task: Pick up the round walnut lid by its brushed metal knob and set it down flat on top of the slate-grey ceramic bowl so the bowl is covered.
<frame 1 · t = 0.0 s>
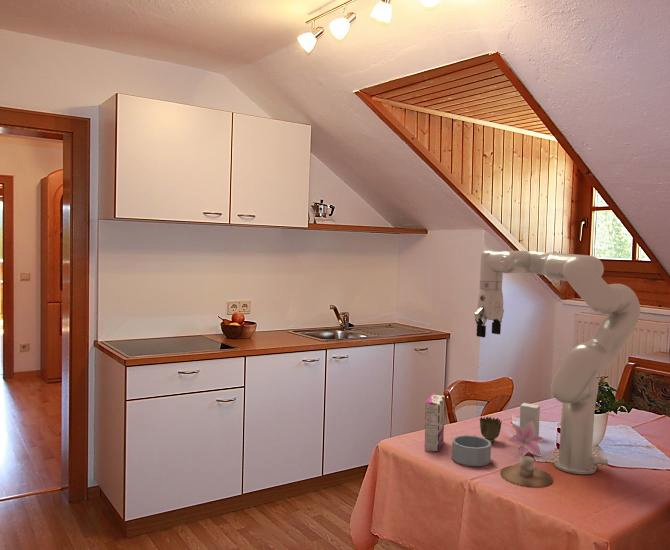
hand: (488, 335, 216), 37 cm above the table, tool pointing down, fingers open, 9 cm apart
bowl: (470, 459, 200), on the table
lily: (525, 453, 207), on the table
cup: (489, 442, 217), on the table
skincare box: (528, 438, 223), on the table
candy bar box: (433, 446, 212), on the table
lid: (526, 478, 187), on the table
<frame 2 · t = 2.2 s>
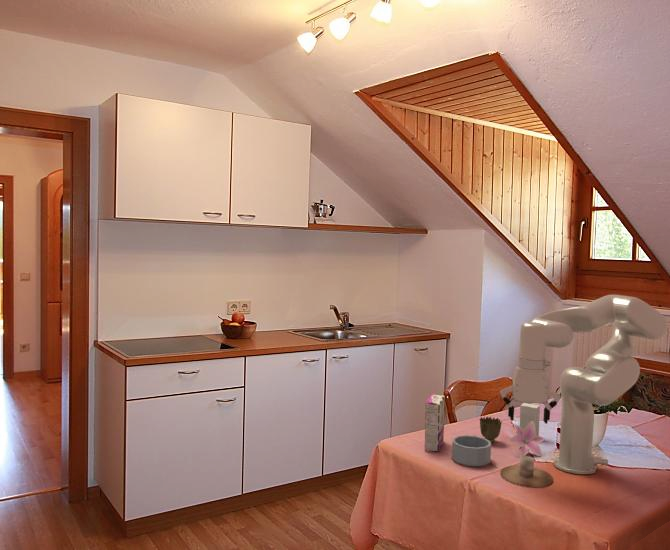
hand: (528, 420, 186), 17 cm above the table, tool pointing down, fingers open, 9 cm apart
nothing on the table moved.
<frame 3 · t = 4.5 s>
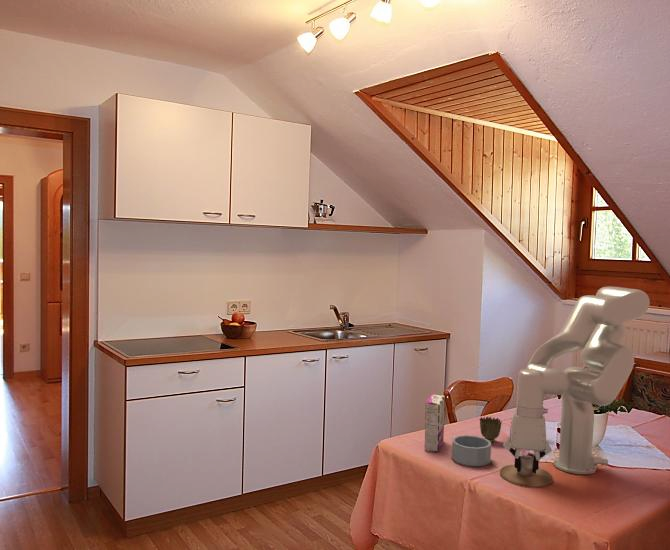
hand: (526, 470, 187), 2 cm above the table, tool pointing down, fingers closed on lid, 4 cm apart
lid: (525, 477, 187), on the table, touching gripper
everything else where it was.
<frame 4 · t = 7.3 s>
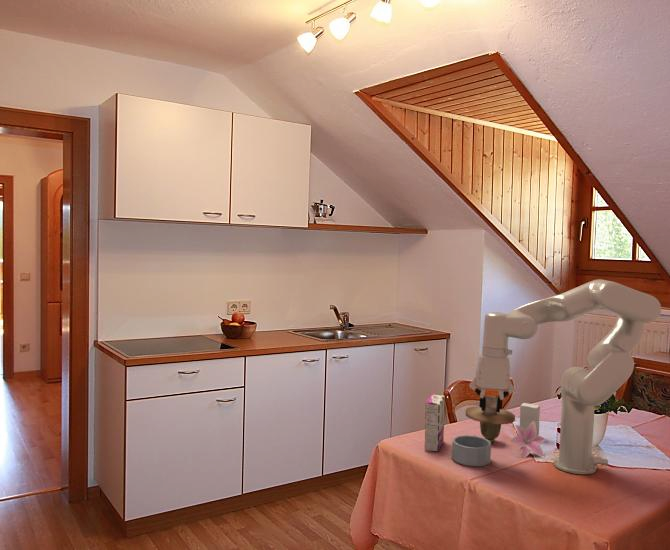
hand: (490, 410, 194), 18 cm above the table, tool pointing down, fingers closed on lid, 4 cm apart
lid: (489, 416, 194), point 16 cm above the table, touching gripper
everything else where it was.
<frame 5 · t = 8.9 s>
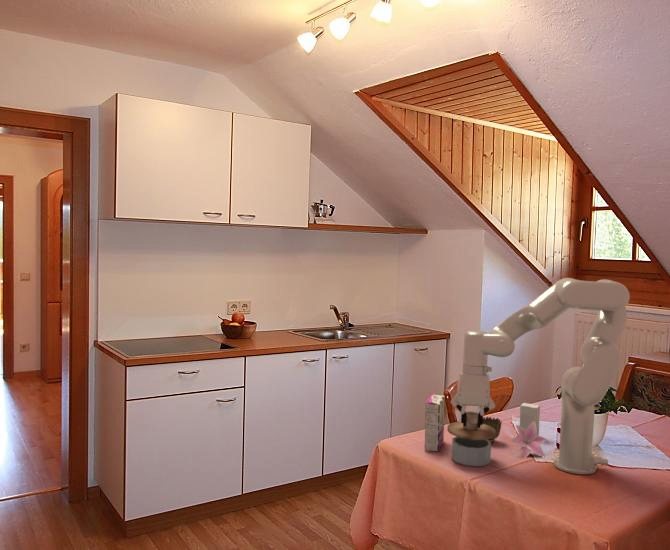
hand: (471, 425, 199), 11 cm above the table, tool pointing down, fingers closed on lid, 4 cm apart
lid: (471, 431, 199), point 9 cm above the table, touching gripper
everything else where it was.
when the fingers open (9 cm above the table, at t = 10.1 s): lid stays where it is, resting on bowl.
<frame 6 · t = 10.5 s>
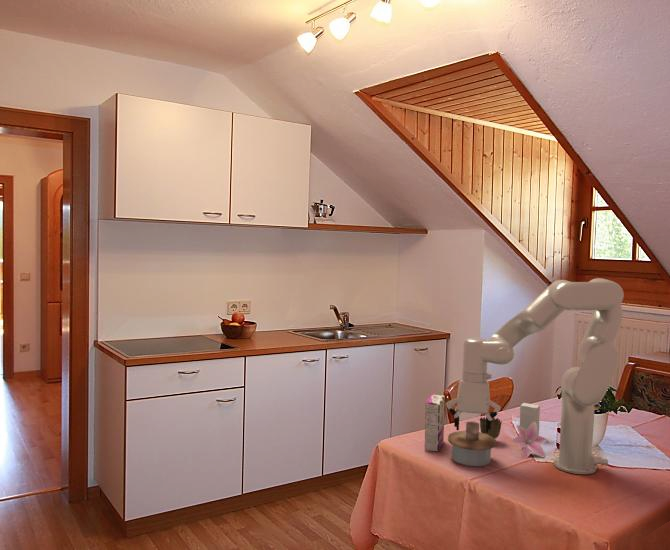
hand: (472, 430, 199), 10 cm above the table, tool pointing down, fingers open, 8 cm apart
lid: (471, 441, 199), point 6 cm above the table, touching bowl
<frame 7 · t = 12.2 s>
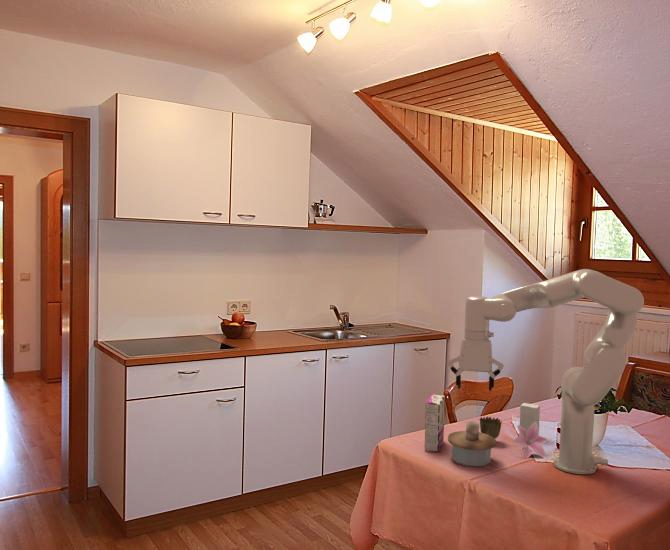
hand: (474, 388, 198), 23 cm above the table, tool pointing down, fingers open, 9 cm apart
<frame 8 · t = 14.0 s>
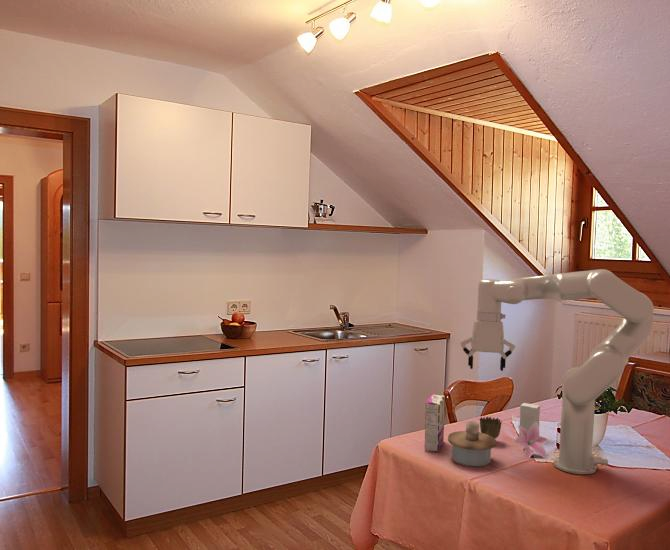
hand: (486, 369, 204), 28 cm above the table, tool pointing down, fingers open, 9 cm apart
at the end: lid 0.1 cm off-centre on the bowl, point 6.0 cm above the bowl's base; lid tilted 0°; the gripper is holding nothing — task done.
